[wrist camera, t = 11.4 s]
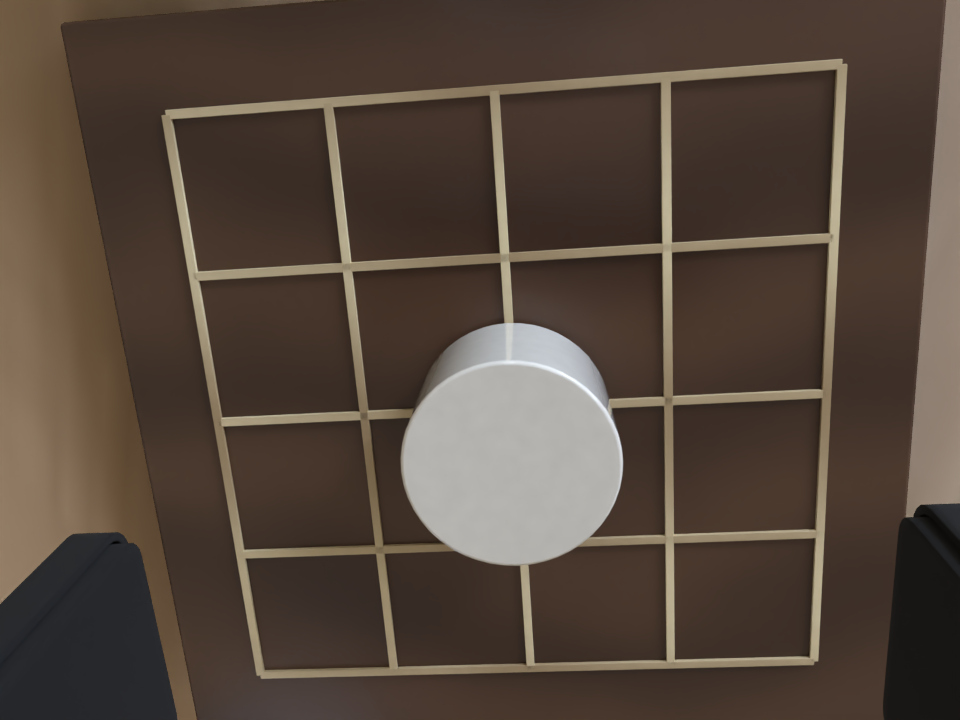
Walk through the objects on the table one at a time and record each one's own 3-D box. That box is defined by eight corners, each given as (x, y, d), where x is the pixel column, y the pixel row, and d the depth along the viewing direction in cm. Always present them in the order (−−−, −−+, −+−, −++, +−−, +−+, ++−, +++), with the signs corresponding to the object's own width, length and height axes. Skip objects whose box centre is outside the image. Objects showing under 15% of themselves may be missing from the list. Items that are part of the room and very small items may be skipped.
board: (86, 27, 19) (55, 22, 18) (925, -43, 18) (954, -54, 16) (214, 708, 24) (197, 741, 23) (872, 693, 23) (892, 728, 22)
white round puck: (409, 327, 19) (388, 366, 16) (607, 316, 19) (621, 355, 16) (427, 505, 20) (410, 571, 18) (612, 498, 20) (626, 564, 17)
